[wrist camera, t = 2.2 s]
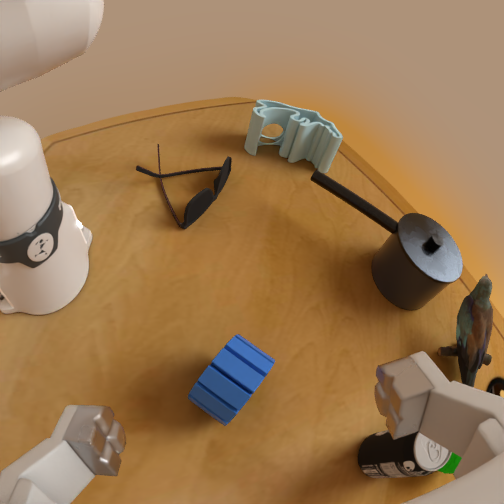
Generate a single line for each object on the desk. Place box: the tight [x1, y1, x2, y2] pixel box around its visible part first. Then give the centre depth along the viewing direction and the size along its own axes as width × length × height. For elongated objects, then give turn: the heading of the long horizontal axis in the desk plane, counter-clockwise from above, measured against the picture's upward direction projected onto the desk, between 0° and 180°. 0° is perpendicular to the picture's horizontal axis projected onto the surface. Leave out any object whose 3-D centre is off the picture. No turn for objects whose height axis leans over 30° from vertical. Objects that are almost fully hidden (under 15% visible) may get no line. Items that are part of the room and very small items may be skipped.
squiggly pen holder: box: [244, 100, 343, 173], centre depth 63 cm, size 18×10×9 cm, turn 89°
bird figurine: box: [438, 274, 493, 387], centre depth 40 cm, size 13×10×20 cm
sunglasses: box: [136, 144, 231, 229], centre depth 53 cm, size 17×14×5 cm
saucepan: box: [311, 170, 463, 310], centre depth 50 cm, size 29×14×11 cm, turn 55°
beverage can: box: [358, 430, 452, 478], centre depth 29 cm, size 7×7×12 cm
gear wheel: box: [188, 334, 275, 426], centre depth 33 cm, size 5×9×9 cm, turn 145°
